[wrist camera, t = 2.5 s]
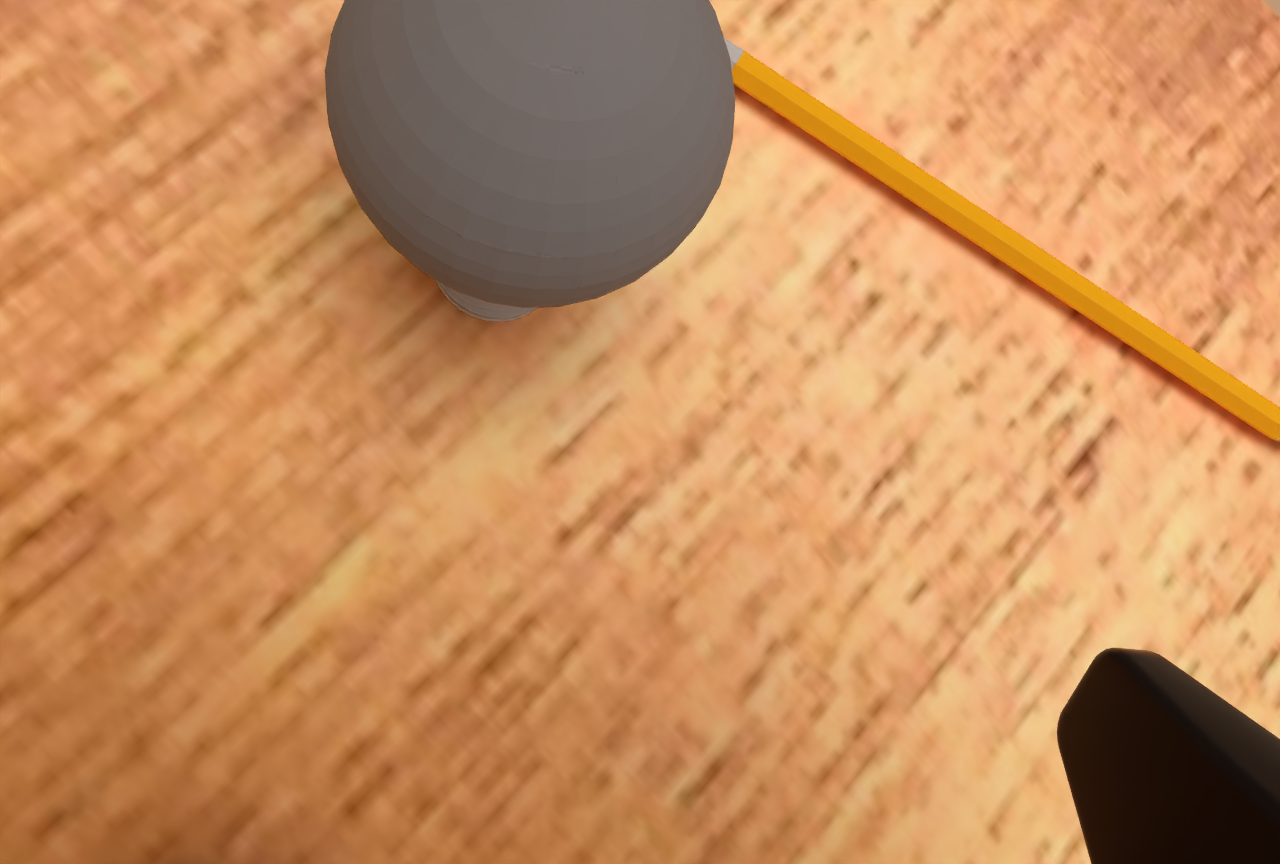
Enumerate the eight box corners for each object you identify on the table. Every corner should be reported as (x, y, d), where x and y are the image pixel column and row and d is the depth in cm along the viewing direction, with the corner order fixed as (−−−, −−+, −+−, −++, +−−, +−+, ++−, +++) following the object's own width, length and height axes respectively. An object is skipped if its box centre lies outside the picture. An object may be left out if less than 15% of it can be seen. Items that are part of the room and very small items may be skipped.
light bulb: (679, 319, 23) (883, 85, 14) (446, 459, 21) (492, 303, 12) (532, 96, 23) (630, -288, 14) (290, 216, 22) (210, -128, 12)
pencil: (685, 25, 24) (693, 8, 24) (1328, 453, 26) (1352, 447, 26) (669, 50, 24) (677, 33, 24) (1319, 479, 26) (1343, 475, 25)
